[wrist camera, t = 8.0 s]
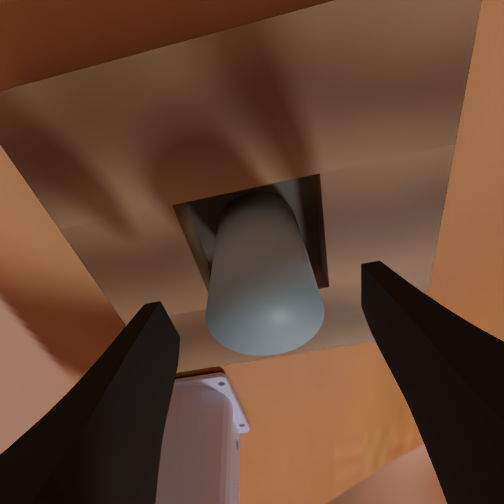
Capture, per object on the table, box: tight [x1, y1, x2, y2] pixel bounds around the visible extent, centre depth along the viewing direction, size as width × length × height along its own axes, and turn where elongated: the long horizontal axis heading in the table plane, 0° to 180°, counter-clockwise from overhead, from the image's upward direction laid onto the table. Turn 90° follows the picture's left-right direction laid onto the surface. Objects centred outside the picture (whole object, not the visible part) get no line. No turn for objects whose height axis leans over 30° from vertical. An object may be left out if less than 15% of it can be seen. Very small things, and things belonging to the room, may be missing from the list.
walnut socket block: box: [0, 0, 482, 373], centre depth 14 cm, size 16×16×2 cm
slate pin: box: [205, 192, 325, 356], centre depth 12 cm, size 4×4×6 cm
